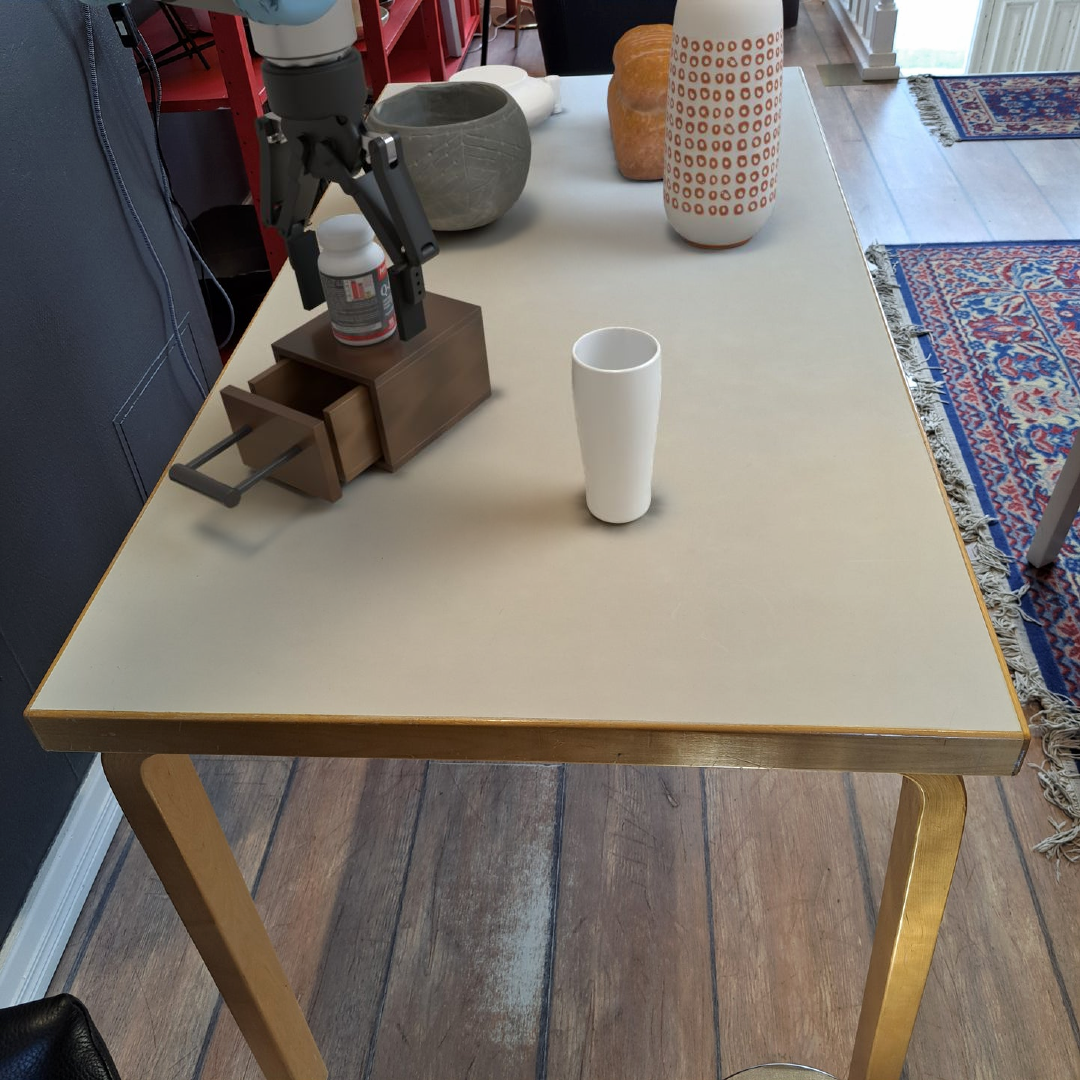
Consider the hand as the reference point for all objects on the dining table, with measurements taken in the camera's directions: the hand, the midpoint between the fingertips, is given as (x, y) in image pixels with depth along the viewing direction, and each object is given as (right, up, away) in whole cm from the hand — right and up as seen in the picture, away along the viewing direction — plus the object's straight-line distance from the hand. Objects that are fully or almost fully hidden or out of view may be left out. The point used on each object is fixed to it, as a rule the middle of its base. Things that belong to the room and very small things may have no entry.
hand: (363, 318), depth 87 cm
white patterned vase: (+37, +18, +34) cm, 53 cm away
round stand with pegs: (+8, +47, +70) cm, 85 cm away
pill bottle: (0, -1, +1) cm, 2 cm away
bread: (+33, +38, +57) cm, 76 cm away
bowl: (+5, +22, +42) cm, 48 cm away
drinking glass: (+22, -17, -5) cm, 28 cm away
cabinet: (+2, -7, +8) cm, 11 cm away
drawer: (-5, -13, +1) cm, 14 cm away
